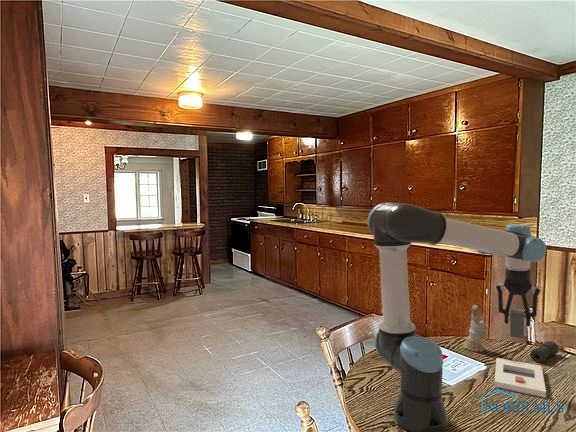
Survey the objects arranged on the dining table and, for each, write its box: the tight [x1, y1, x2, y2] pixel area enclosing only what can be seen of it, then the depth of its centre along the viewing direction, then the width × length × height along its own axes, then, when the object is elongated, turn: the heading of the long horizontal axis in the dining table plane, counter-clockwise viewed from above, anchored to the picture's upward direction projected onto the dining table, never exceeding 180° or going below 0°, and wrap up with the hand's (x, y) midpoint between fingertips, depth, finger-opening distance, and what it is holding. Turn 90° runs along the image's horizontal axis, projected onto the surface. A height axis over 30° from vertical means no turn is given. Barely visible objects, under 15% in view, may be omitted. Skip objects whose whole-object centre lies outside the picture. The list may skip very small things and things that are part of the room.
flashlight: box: [529, 340, 560, 364], centre depth 158 cm, size 15×5×5 cm, turn 126°
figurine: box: [462, 304, 489, 353], centre depth 167 cm, size 9×8×20 cm
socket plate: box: [493, 357, 547, 398], centre depth 141 cm, size 22×15×3 cm
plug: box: [509, 307, 525, 339], centre depth 138 cm, size 8×4×8 cm, turn 149°
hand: (517, 333), depth 138 cm, fingers closed on plug, 4 cm apart
